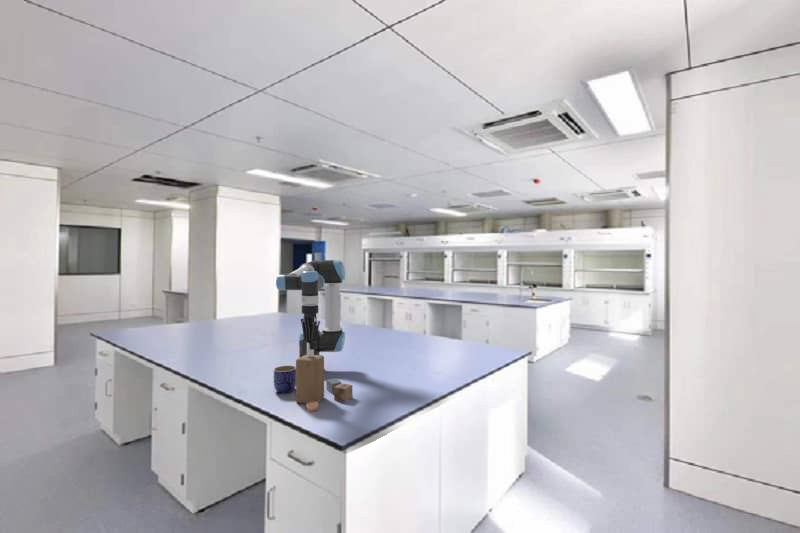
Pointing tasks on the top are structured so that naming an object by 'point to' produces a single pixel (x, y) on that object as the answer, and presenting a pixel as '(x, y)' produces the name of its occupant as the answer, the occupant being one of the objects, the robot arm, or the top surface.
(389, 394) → the top surface
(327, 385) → the gray block
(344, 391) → the walnut cube
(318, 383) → the wooden block
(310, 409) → the terracotta puck
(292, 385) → the planter
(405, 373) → the top surface
